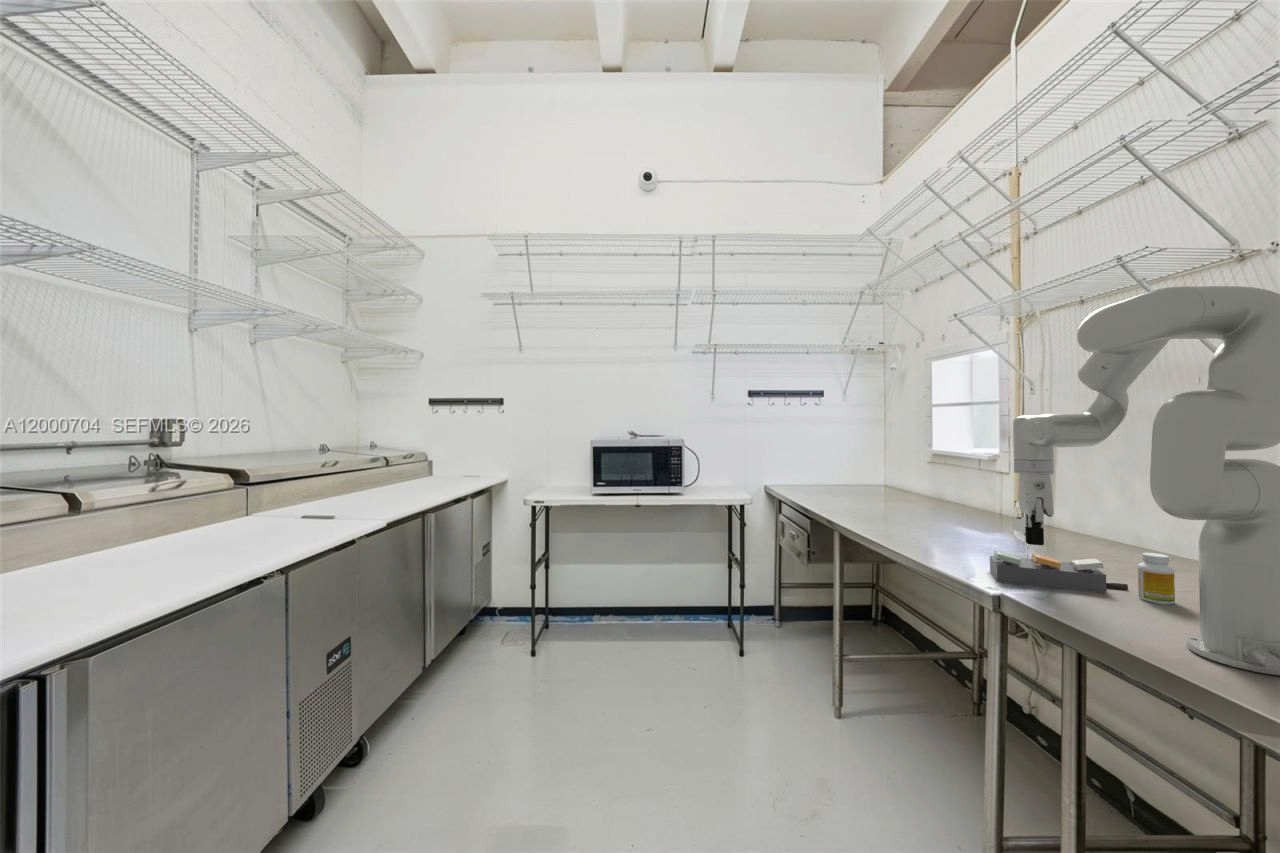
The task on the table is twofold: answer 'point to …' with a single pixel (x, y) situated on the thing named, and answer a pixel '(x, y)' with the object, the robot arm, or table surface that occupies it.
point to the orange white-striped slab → (1046, 561)
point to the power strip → (1051, 575)
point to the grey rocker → (1087, 564)
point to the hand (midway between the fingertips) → (1034, 543)
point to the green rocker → (1007, 557)
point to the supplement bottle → (1156, 579)
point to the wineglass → (1021, 532)
